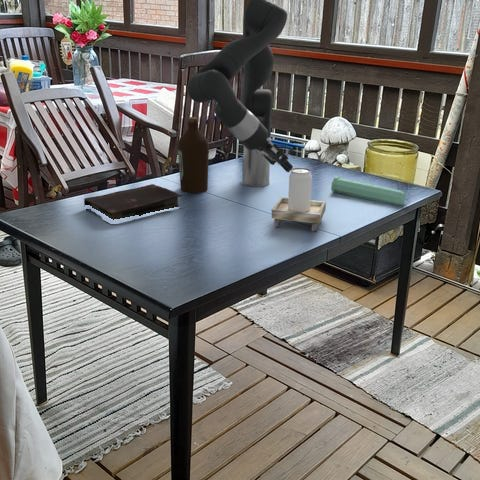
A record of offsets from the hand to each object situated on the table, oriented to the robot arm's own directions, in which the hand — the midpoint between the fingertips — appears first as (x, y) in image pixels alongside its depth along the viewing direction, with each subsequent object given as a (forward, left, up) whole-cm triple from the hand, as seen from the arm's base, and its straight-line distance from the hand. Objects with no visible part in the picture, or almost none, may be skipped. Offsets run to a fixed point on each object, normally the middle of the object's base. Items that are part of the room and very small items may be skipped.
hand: (282, 165), depth 167 cm
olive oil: (-36, +26, -19) cm, 49 cm away
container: (+23, +36, -19) cm, 46 cm away
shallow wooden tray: (+5, +4, -18) cm, 20 cm away
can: (+5, +4, -14) cm, 16 cm away
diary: (-47, +1, -19) cm, 51 cm away
